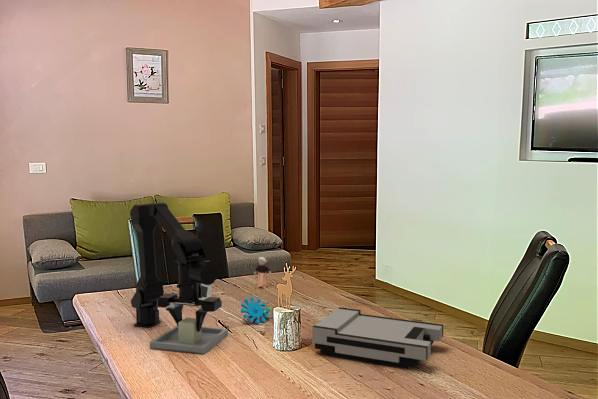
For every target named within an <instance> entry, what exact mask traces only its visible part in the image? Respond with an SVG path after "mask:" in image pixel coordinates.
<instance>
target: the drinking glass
mask: <svg viewBox="0 0 598 399" xmlns="http://www.w3.org/2000/svg"><path fill="white" fill-rule="evenodd" d="M201 286H205V287H208V290H207V297H202V298H199V300H205V299H206V298H208V297H212V295H213V294H212V292H213V291H212V289H213V287H212V286H213V283H212V284H211V285H204V284H201Z"/></svg>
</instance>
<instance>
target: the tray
mask: <svg viewBox="0 0 598 399" xmlns="http://www.w3.org/2000/svg"><path fill="white" fill-rule="evenodd" d="M201 332H202V338H201V339H200V340H198V341H197V342H196V343H194V344H192V343H182V342H179V334H178V326H177V325H175V326H173V327H172V328H170V329H168V330H167V331H166V332H164V333H162V334H161V335H159V336H157V337H156V338H155V339H153V340H151V341H149V350H157V351H167V352H175V353H183V354H184V353H185V354H192V355H193V354H194V355H200V356H204V355H205V354H207V353H208V352H209V351H210V350H212V349H213V348H214V347H215V346H216V345H217V344H219V343H220V342H222V341H223V340H224V339H226V338H227V336H228V335H229V329H228V328H222V327H210V326H202V327H201Z"/></svg>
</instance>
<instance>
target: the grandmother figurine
mask: <svg viewBox="0 0 598 399" xmlns="http://www.w3.org/2000/svg"><path fill="white" fill-rule="evenodd" d="M266 263H268V262H267V259H266V258H265V257H264V256H259V257H258V264H259V265H258V266H256V268H255V269H254V272H253V274H254V275H257V285H256V286H255V289H257V288H259V289H260V288H261V289H266V288H267V282H268V281H267V279H268V278H267V273H268V275H269V276H271V275H272V272H271V268H269V266H267V265H265V264H266Z"/></svg>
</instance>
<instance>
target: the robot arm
mask: <svg viewBox="0 0 598 399" xmlns="http://www.w3.org/2000/svg"><path fill="white" fill-rule="evenodd" d="M129 216H130V218H131V225H132V226H133V228H134V229H135V230H136V231H137V239H138V240H137V241H138V253H139V254H138V255H139V256H138V258H139V270H140V277H139V279H138V280H137V283H136V284H135V292H134V295H133V296H132V298H131V299H130V304H131V305H130V306H131V308H134V309H135V313H136V314H135V315H136V316H135V318H136V323H134V324H133V326H134V327H143V328H152V327H154V326H156V325H157V324H159V323H161V322H162V321H161V319H160V310H159V308H164V309H165V311H168V313H169V314H170V315H171V317H172V319H173V320H174V322H175V324H176V326H178V322H180V321H181V320H183V308H184V306H190V307H191V306H192V307H198V309H197V310H196V311H195V318H196V325H197V331H198V332H199V331H200V330H201V327H203V324H204V321H205V318H206V316H207V314H208V313H209V312H211V313H213V312H216V311H218V310H219V309H220V308H222V305H223V303H222V302H223V301H222V299H221V298H220V297H214V296H211V297H208V298H206V299H205V300H199V298H202V297H207V290H208V287H205V286H201V284H204V285H211V284H212V285H213V284H214V283H215V281H216V280H217V277H218V272H217V269H216V267H215V266H214V265H212V261H211V260H209V258H208V255H207V252H206V250H205V248H204V246H203V244H202V241H201V239H200V238H199V237H198V236H197V235H196V234H195V233H194V232H191V231H189V230H187V229H185V228H184V226H183V225H182V224H181V222H179V221H178V219H177V218H176V217H175V215H174V214H173V213H172V212H171V211H170V209H169V207H168V205H167V203H165V202H163V201H162V202H152V203H151V202H150V203H141V204H140V203H139V204H133V206H132V207H131V209H130V211H129ZM158 224H159V226H160V227H161V228H162V229H163V231H164V232H165V233H166V235H167V236H168V237H169V239H170V240H171V245H170V246H171V249H172V251H173V252H174V254H175V255H176V257H177V258H176V259H175V260H174V263H176V264H178V266H177V267H178V268H177V269H178V283H177V284H176V288H177V289H178V295H177V294H176V293H165V290H164V282H163V280H161V279H160V278H159V277H158V276H157V265H156V251H155V250H156V249H155V236H154V235H155V233H154V232H155V229H156V227H157V225H158ZM164 293H165V294H164Z"/></svg>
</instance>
